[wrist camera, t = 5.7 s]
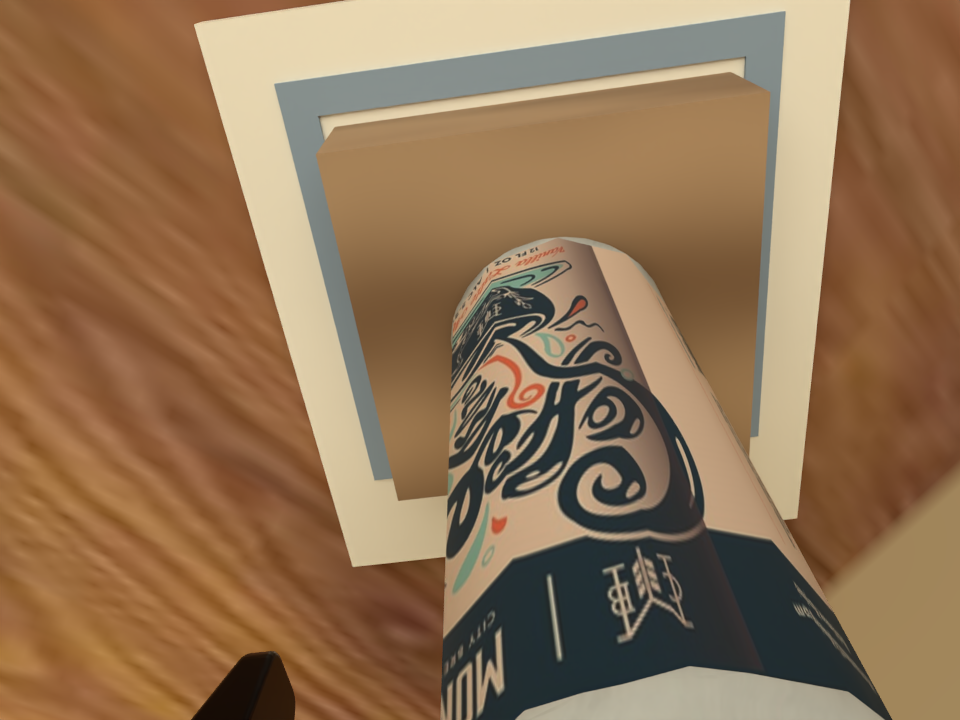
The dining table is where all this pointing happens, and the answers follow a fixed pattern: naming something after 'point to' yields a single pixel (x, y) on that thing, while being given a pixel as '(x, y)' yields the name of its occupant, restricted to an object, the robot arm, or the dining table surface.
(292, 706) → the robot arm
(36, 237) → the dining table surface
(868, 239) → the dining table surface
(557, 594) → the beer can
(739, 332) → the base block
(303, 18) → the white flat square slab
